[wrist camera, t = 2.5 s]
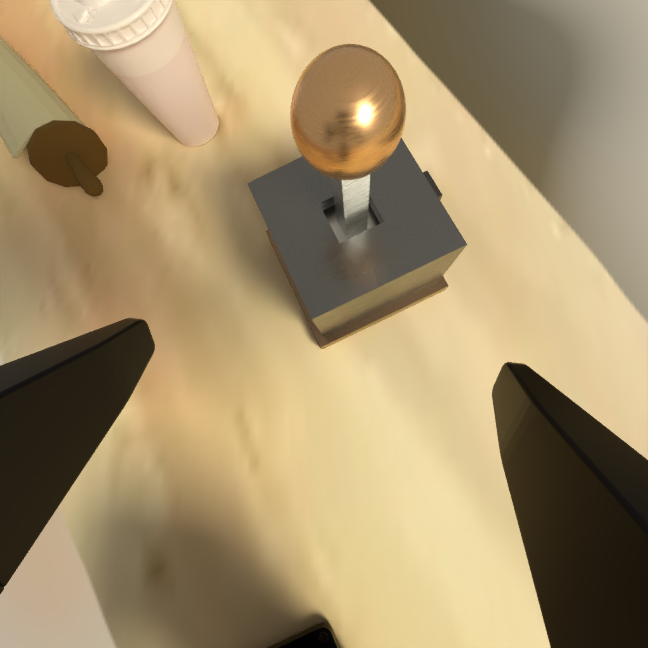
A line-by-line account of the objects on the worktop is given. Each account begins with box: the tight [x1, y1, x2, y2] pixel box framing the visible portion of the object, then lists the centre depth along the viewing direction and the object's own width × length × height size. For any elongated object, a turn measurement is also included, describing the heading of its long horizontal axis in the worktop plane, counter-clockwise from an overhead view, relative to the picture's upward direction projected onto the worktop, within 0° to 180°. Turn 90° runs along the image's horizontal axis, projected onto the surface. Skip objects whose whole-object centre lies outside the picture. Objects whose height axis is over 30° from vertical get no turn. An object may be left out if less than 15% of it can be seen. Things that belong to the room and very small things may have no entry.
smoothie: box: [50, 0, 219, 147], centre depth 19 cm, size 6×6×14 cm
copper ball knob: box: [291, 44, 406, 243], centre depth 13 cm, size 6×6×9 cm
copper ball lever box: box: [248, 138, 467, 349], centre depth 19 cm, size 9×9×7 cm
